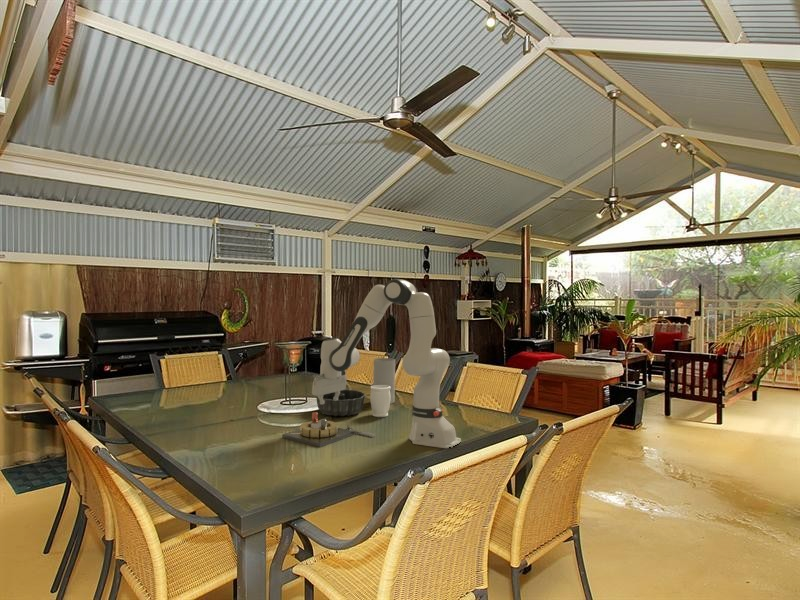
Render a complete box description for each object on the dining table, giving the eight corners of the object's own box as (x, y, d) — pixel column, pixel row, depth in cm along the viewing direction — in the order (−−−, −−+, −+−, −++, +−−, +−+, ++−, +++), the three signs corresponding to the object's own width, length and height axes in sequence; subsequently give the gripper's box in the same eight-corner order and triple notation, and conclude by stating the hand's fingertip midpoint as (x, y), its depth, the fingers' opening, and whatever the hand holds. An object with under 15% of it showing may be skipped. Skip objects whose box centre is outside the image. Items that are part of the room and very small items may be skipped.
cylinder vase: (375, 405, 270) (376, 361, 270) (371, 400, 282) (371, 358, 282) (396, 404, 273) (397, 360, 273) (391, 399, 285) (392, 358, 285)
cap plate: (354, 434, 211) (354, 422, 211) (320, 447, 193) (320, 433, 193) (317, 426, 224) (317, 414, 223) (282, 437, 205) (282, 425, 205)
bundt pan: (369, 418, 241) (369, 398, 241) (316, 420, 235) (316, 400, 235) (361, 406, 267) (362, 388, 267) (314, 408, 261) (314, 389, 261)
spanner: (376, 436, 210) (376, 430, 210) (371, 438, 207) (371, 431, 207) (348, 430, 218) (348, 424, 218) (344, 432, 216) (344, 425, 216)
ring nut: (344, 431, 211) (345, 415, 211) (319, 439, 197) (320, 422, 197) (318, 425, 219) (318, 410, 219) (292, 433, 206) (292, 417, 206)
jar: (391, 413, 251) (391, 385, 251) (389, 418, 241) (389, 388, 241) (371, 412, 252) (372, 384, 252) (368, 417, 242) (368, 388, 242)
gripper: (319, 376, 212) (318, 407, 212) (348, 370, 229) (348, 399, 229) (309, 374, 215) (308, 405, 216) (338, 369, 232) (338, 397, 233)
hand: (329, 402), depth 223 cm, fingers open, 8 cm apart
